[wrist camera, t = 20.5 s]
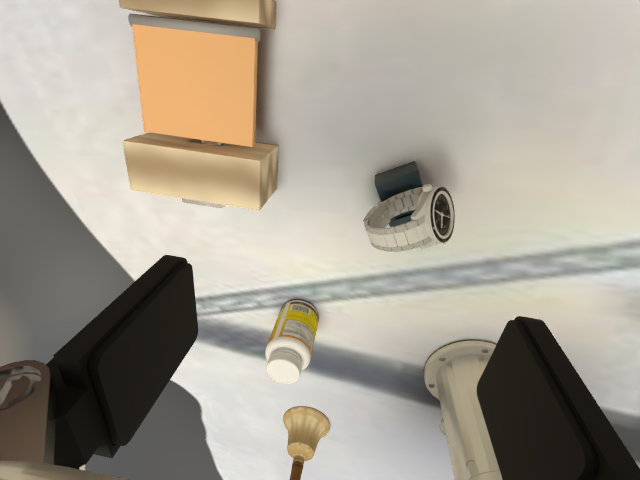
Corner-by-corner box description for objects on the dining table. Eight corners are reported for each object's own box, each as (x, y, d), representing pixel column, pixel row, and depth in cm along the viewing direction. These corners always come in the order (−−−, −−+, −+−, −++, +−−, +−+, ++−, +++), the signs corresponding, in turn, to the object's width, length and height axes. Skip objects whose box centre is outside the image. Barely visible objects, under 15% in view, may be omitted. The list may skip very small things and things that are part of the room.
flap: (257, 145, 33) (254, 147, 32) (147, 130, 34) (141, 131, 33) (260, 29, 28) (257, 27, 28) (135, 14, 29) (127, 12, 29)
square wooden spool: (276, 188, 39) (259, 210, 33) (165, 172, 40) (131, 190, 34) (284, 3, 30) (263, -10, 25) (143, -12, 31) (92, -28, 26)
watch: (446, 201, 37) (471, 251, 27) (375, 223, 39) (375, 275, 29) (433, 154, 35) (455, 188, 25) (359, 179, 37) (353, 220, 27)
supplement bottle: (291, 332, 49) (273, 392, 40) (274, 303, 47) (250, 360, 38) (326, 323, 47) (314, 384, 38) (309, 293, 45) (292, 350, 36)
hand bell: (275, 410, 58) (243, 520, 44) (316, 402, 56) (296, 515, 42) (297, 439, 61) (274, 550, 47) (338, 432, 59) (326, 548, 45)
